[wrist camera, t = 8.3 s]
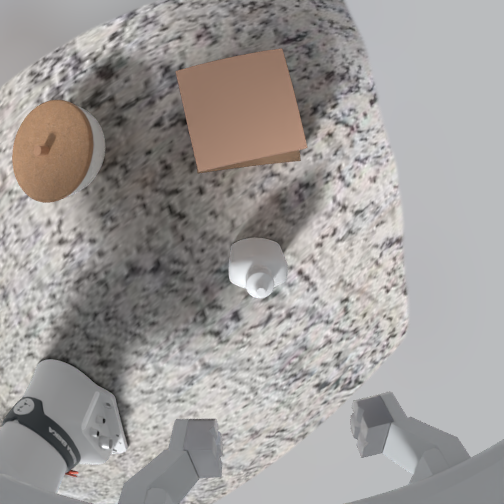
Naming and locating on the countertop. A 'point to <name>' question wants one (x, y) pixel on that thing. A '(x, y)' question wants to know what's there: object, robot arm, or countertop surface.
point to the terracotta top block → (240, 109)
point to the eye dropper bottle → (257, 266)
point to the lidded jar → (57, 151)
